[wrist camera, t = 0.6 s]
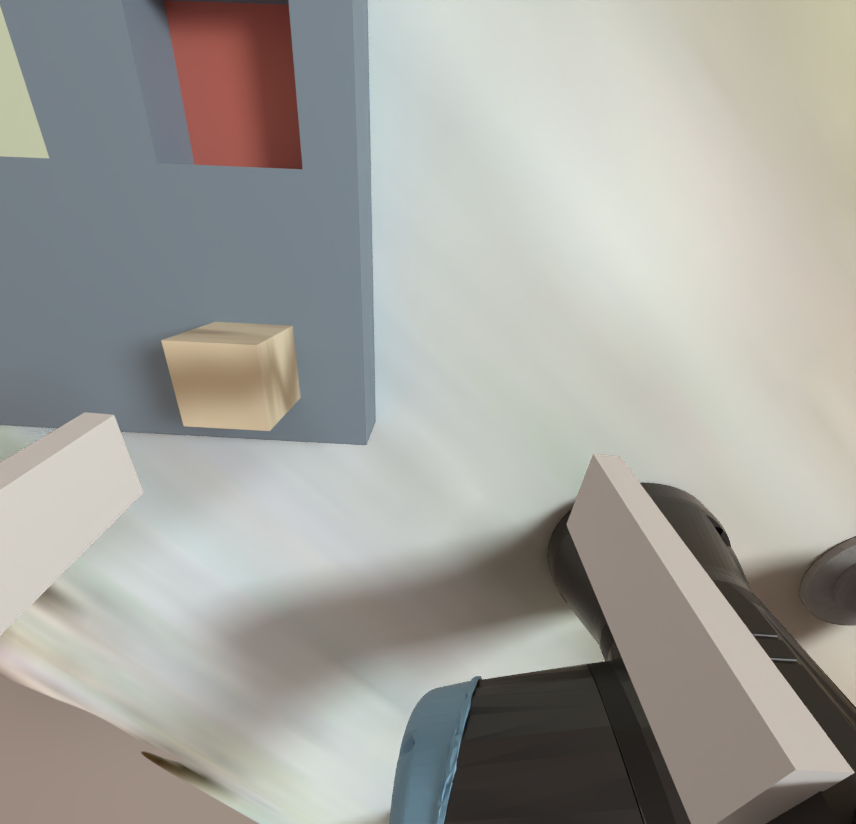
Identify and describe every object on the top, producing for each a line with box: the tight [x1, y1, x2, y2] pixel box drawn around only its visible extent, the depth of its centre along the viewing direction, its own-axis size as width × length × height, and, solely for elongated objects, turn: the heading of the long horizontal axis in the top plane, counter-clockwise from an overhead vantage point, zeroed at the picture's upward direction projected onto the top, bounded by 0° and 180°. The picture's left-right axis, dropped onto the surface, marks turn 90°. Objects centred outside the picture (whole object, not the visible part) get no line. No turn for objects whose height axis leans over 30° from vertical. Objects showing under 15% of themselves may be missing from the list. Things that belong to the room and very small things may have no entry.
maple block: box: [161, 322, 301, 431], centre depth 22 cm, size 5×5×5 cm
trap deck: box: [0, 0, 375, 445], centre depth 21 cm, size 38×32×4 cm
